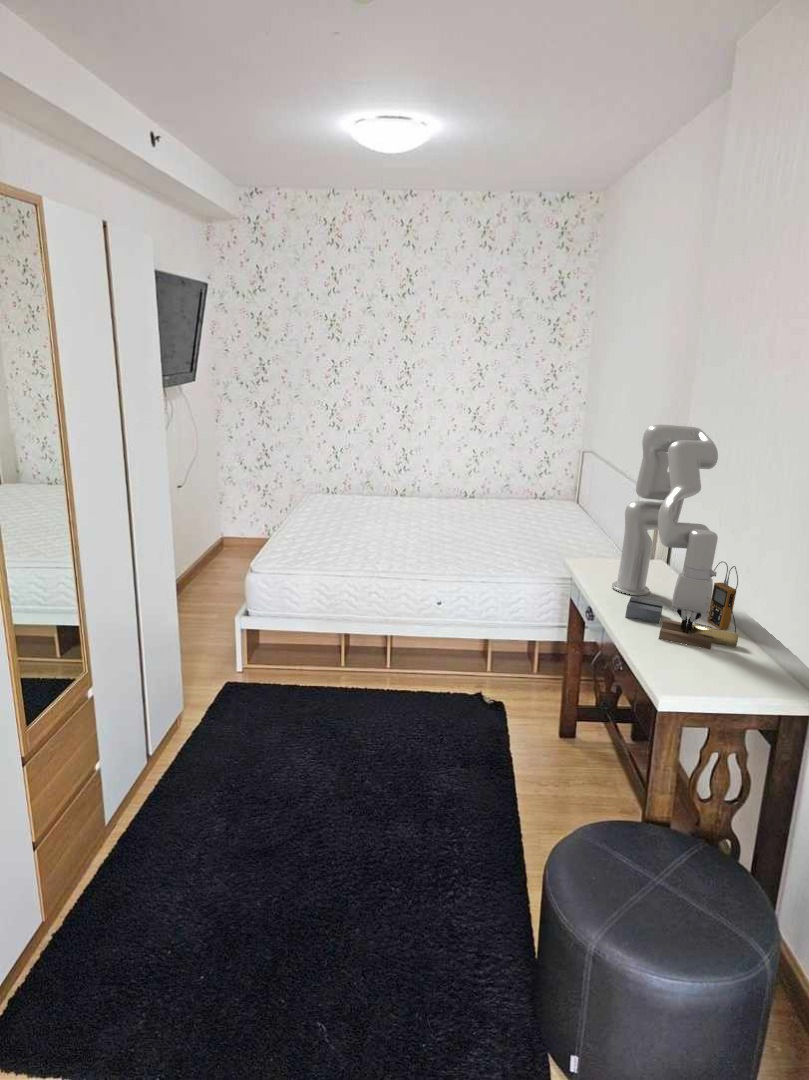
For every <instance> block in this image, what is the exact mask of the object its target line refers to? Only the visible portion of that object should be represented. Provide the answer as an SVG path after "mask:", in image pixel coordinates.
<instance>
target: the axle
mask: <svg viewBox="0 0 809 1080" xmlns="http://www.w3.org/2000/svg"><path fill="white" fill-rule="evenodd" d="M693 625H694V627H693V632H692V635H697V636H702V637H706V638H711V639H712V643H713V644H720V645H723V646H730V647H734V648H737V645H738V642H739V634H740V633H738V632H736V633H735V631H734V632H733V631H729V630H720V629H719V628H713V627H712V628H710V627H706V626H700V625H696V624H693Z"/></svg>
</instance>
